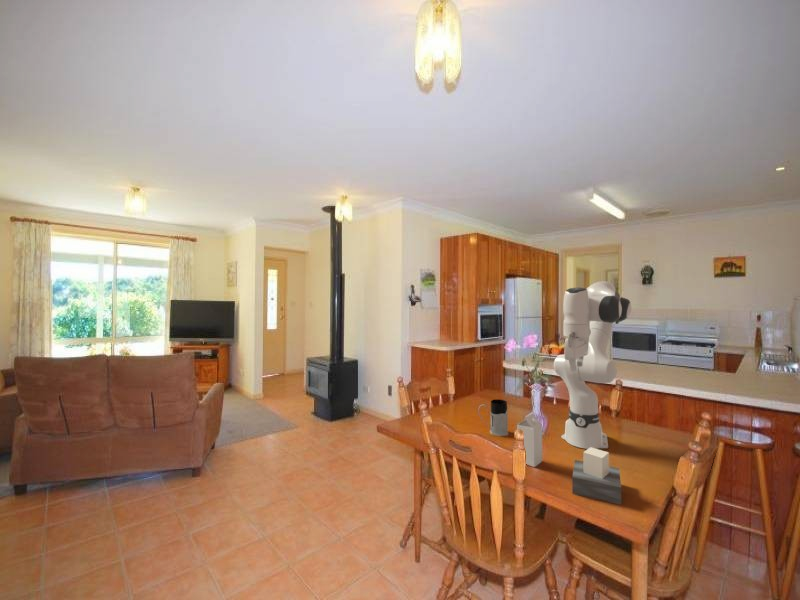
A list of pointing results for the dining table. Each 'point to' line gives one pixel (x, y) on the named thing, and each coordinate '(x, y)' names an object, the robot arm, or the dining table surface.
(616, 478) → the slate box
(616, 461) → the dining table surface
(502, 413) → the grey mug
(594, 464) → the ivory block
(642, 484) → the dining table surface
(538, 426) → the milk carton
